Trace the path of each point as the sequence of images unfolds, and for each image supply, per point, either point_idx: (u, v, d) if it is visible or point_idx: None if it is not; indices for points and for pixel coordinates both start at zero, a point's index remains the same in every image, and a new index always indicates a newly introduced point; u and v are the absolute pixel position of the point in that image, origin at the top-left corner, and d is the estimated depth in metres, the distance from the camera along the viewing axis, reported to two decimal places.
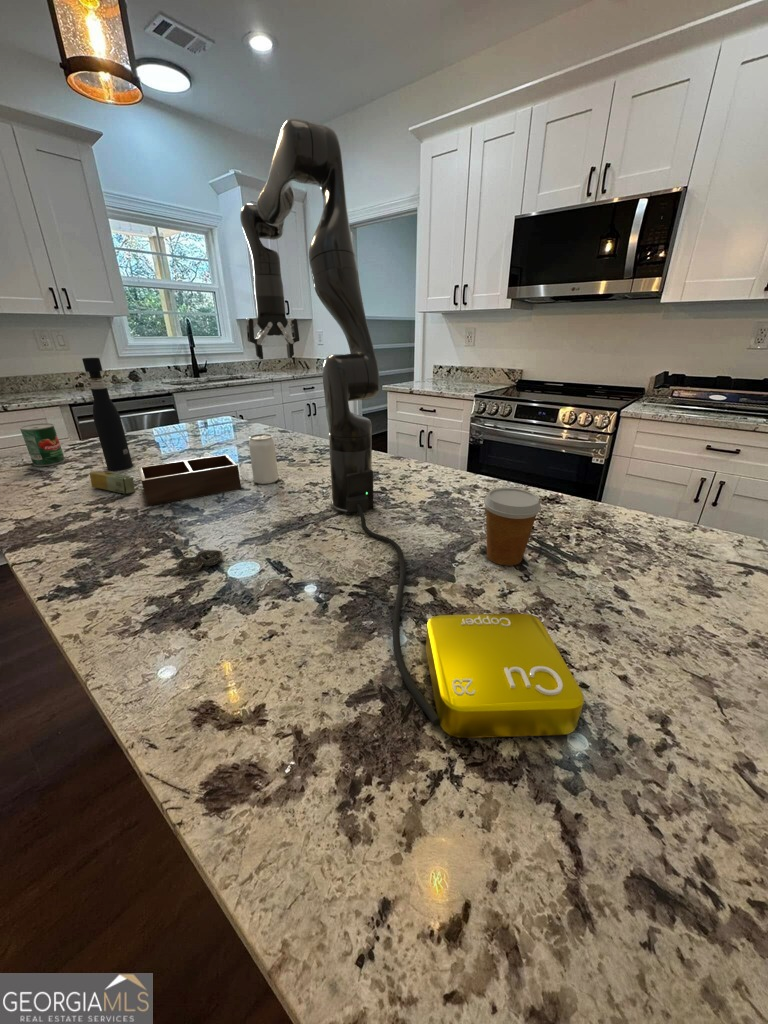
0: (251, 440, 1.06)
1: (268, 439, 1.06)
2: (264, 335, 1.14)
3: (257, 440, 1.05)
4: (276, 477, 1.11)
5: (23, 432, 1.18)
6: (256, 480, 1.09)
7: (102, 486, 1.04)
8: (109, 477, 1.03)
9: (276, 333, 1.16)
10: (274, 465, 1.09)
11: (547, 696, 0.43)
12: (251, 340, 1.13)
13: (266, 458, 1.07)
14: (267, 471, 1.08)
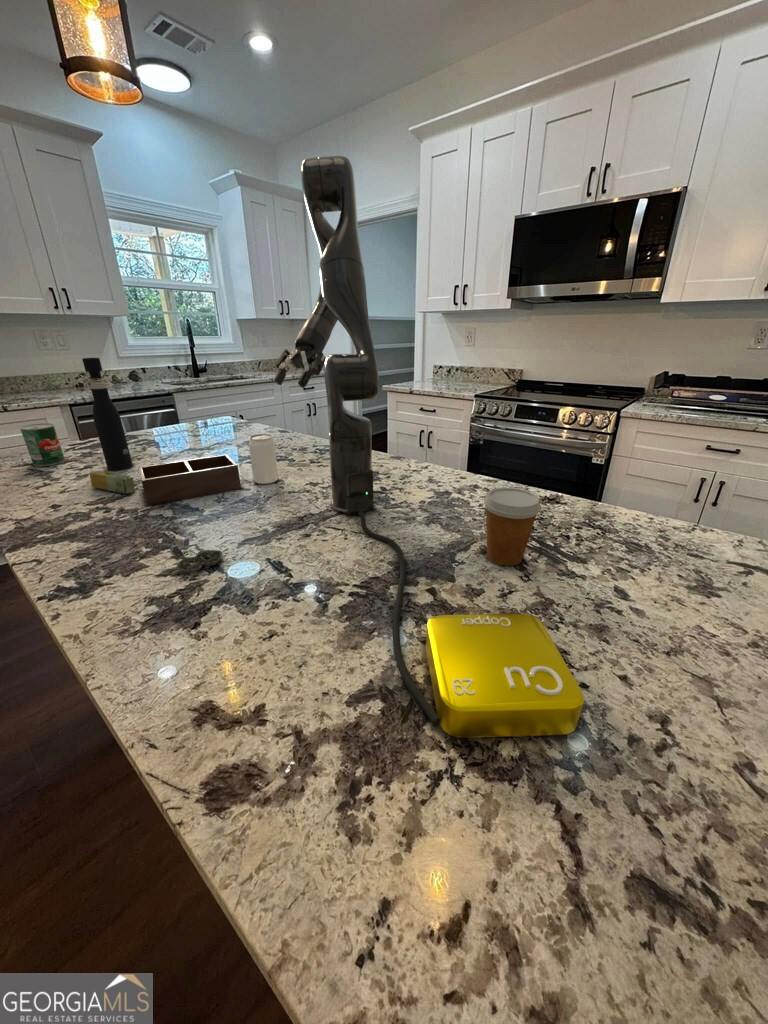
0: (251, 440, 1.06)
1: (268, 439, 1.06)
2: (286, 360, 1.13)
3: (257, 440, 1.05)
4: (276, 477, 1.11)
5: (23, 432, 1.18)
6: (256, 480, 1.09)
7: (102, 486, 1.04)
8: (109, 477, 1.03)
9: (298, 361, 1.12)
10: (274, 465, 1.09)
11: (547, 696, 0.43)
12: (276, 364, 1.15)
13: (266, 458, 1.07)
14: (267, 471, 1.08)
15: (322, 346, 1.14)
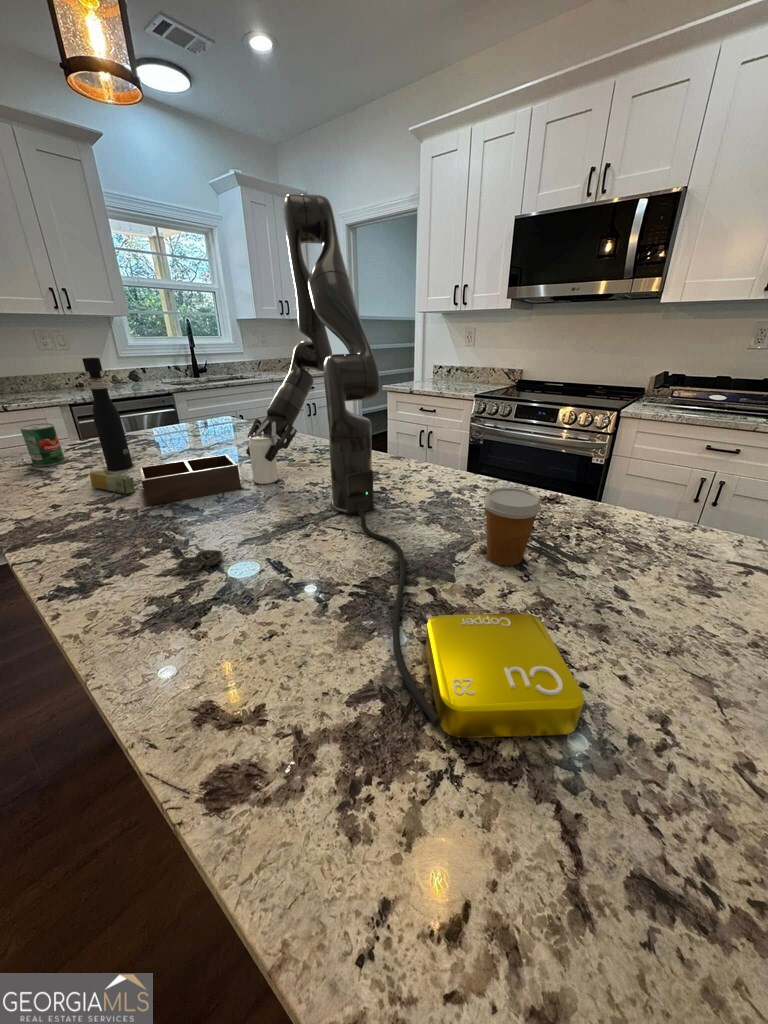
0: (251, 440, 1.06)
1: (268, 439, 1.06)
2: (258, 431, 1.10)
3: (257, 440, 1.05)
4: (276, 477, 1.11)
5: (23, 432, 1.18)
6: (256, 480, 1.09)
7: (102, 486, 1.04)
8: (109, 477, 1.03)
9: (269, 432, 1.09)
10: (274, 465, 1.09)
11: (547, 696, 0.43)
12: (248, 435, 1.11)
13: None
14: (267, 471, 1.08)
15: (294, 415, 1.11)
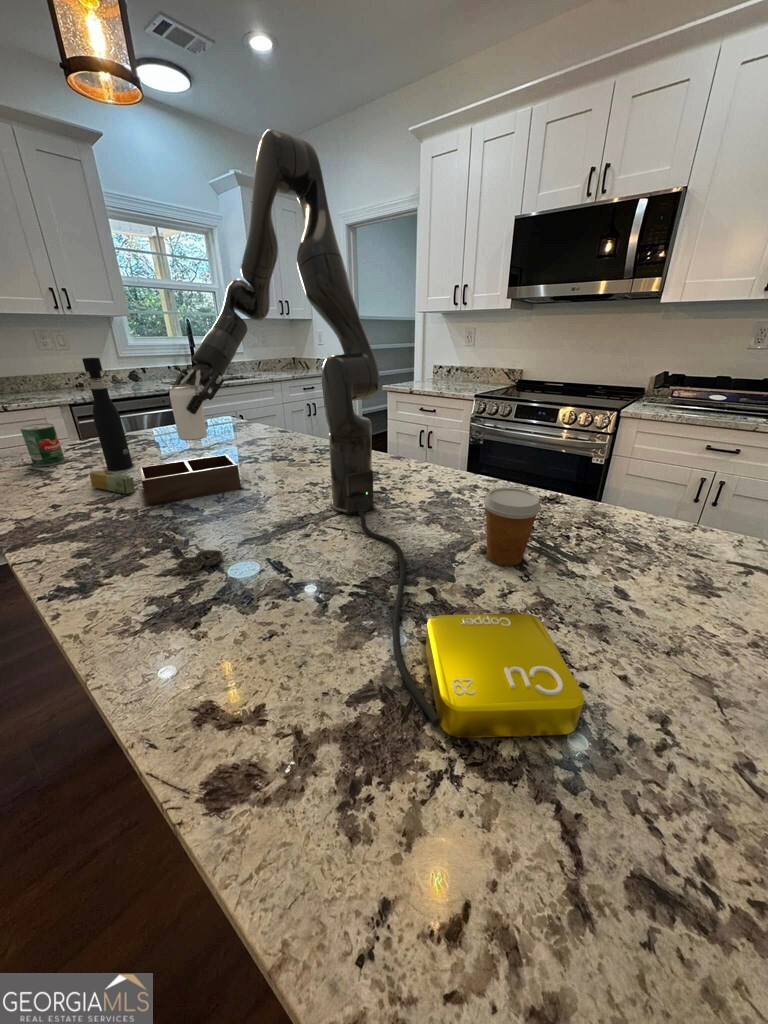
0: (171, 389, 0.94)
1: (190, 388, 0.95)
2: (182, 382, 0.98)
3: (177, 389, 0.94)
4: (203, 433, 1.00)
5: (23, 432, 1.18)
6: (180, 436, 0.98)
7: (102, 486, 1.04)
8: (109, 477, 1.03)
9: (194, 382, 0.97)
10: (200, 419, 0.98)
11: (547, 696, 0.43)
12: None
13: None
14: (191, 425, 0.97)
15: (223, 364, 0.99)
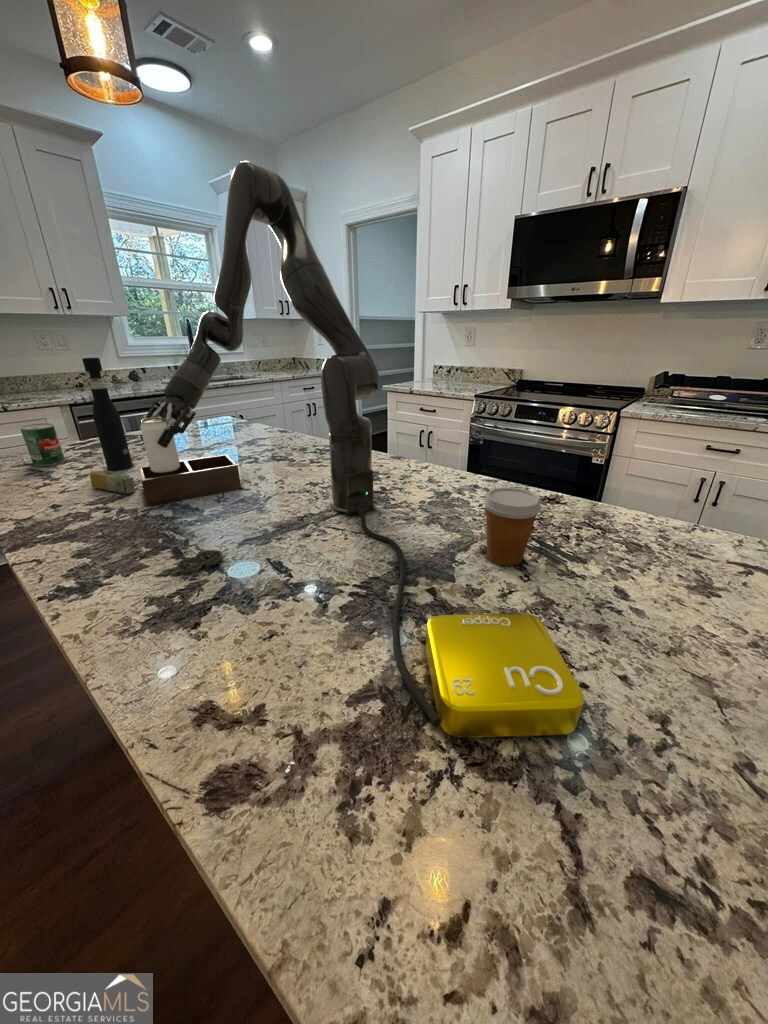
0: (142, 423, 0.94)
1: (161, 422, 0.95)
2: (154, 414, 0.98)
3: (147, 423, 0.94)
4: (176, 465, 1.00)
5: (23, 432, 1.18)
6: (152, 469, 0.98)
7: (102, 486, 1.04)
8: (109, 477, 1.03)
9: (165, 415, 0.97)
10: (172, 451, 0.98)
11: (547, 696, 0.43)
12: None
13: None
14: (162, 458, 0.97)
15: (195, 397, 0.99)
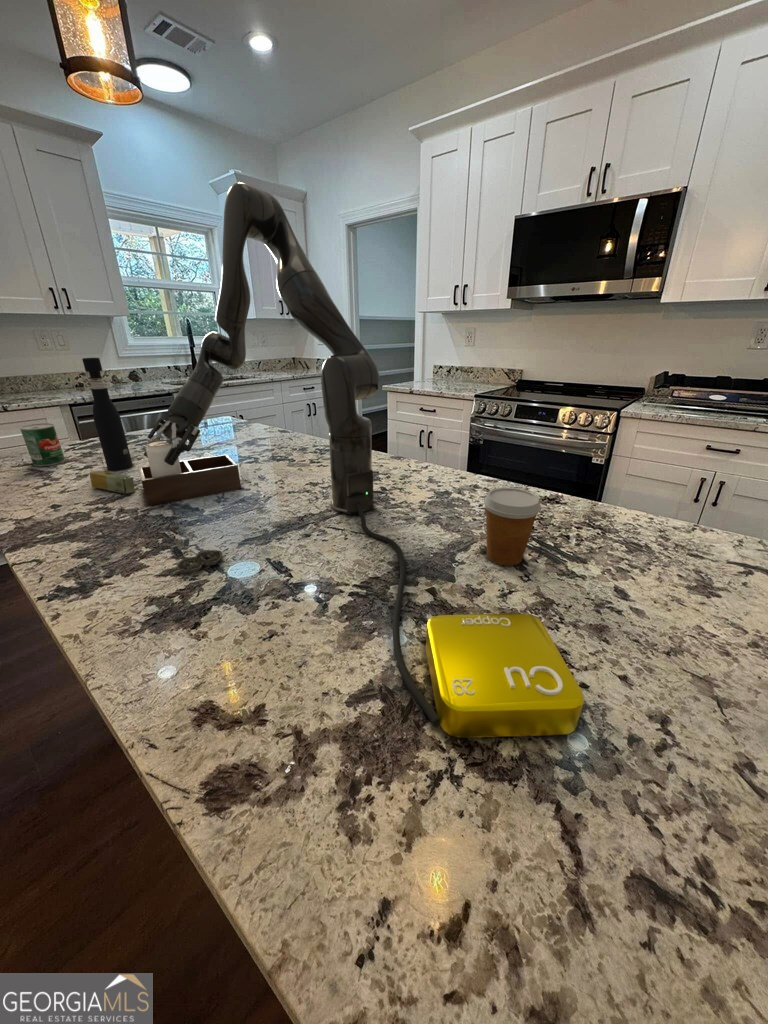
0: (147, 446, 0.97)
1: (166, 445, 0.97)
2: (157, 432, 1.00)
3: (153, 446, 0.96)
4: None
5: (23, 432, 1.18)
6: None
7: (102, 486, 1.04)
8: (109, 477, 1.03)
9: (169, 434, 0.99)
10: (176, 473, 1.00)
11: (547, 696, 0.43)
12: (148, 435, 1.02)
13: (165, 466, 0.98)
14: None
15: (198, 416, 1.01)
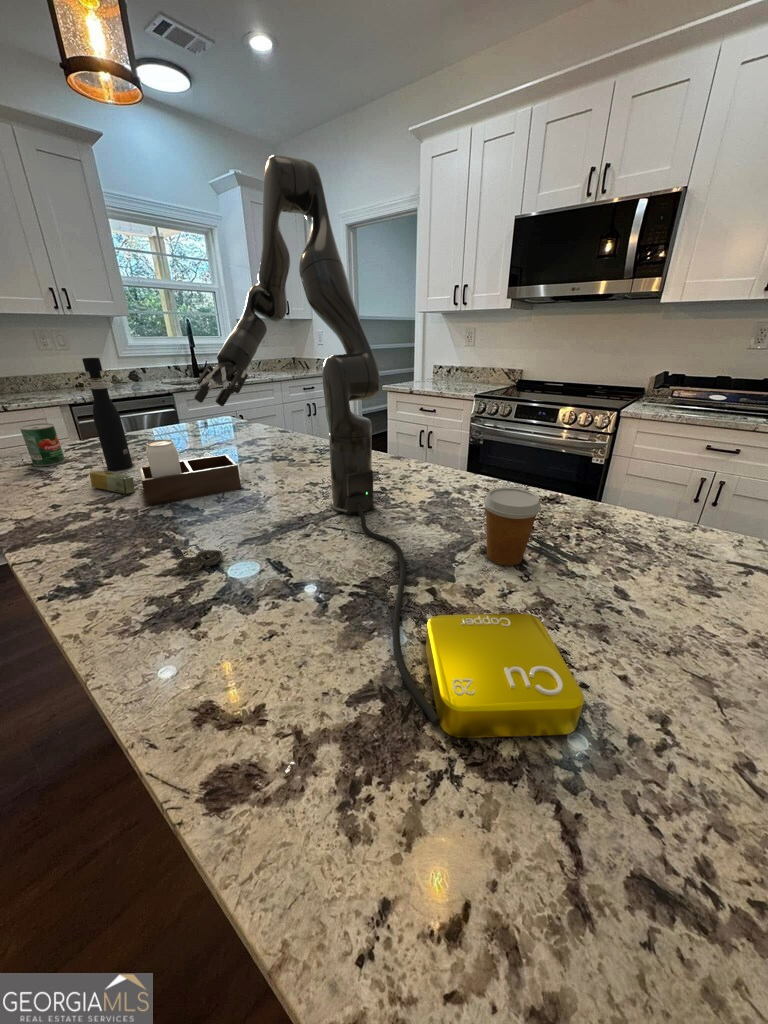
0: (147, 446, 0.97)
1: (166, 445, 0.97)
2: (207, 377, 1.07)
3: (153, 446, 0.96)
4: None
5: (23, 432, 1.18)
6: None
7: (102, 486, 1.04)
8: (109, 477, 1.03)
9: (219, 378, 1.06)
10: (176, 473, 1.00)
11: (547, 696, 0.43)
12: (197, 381, 1.09)
13: (165, 466, 0.98)
14: None
15: (245, 362, 1.07)
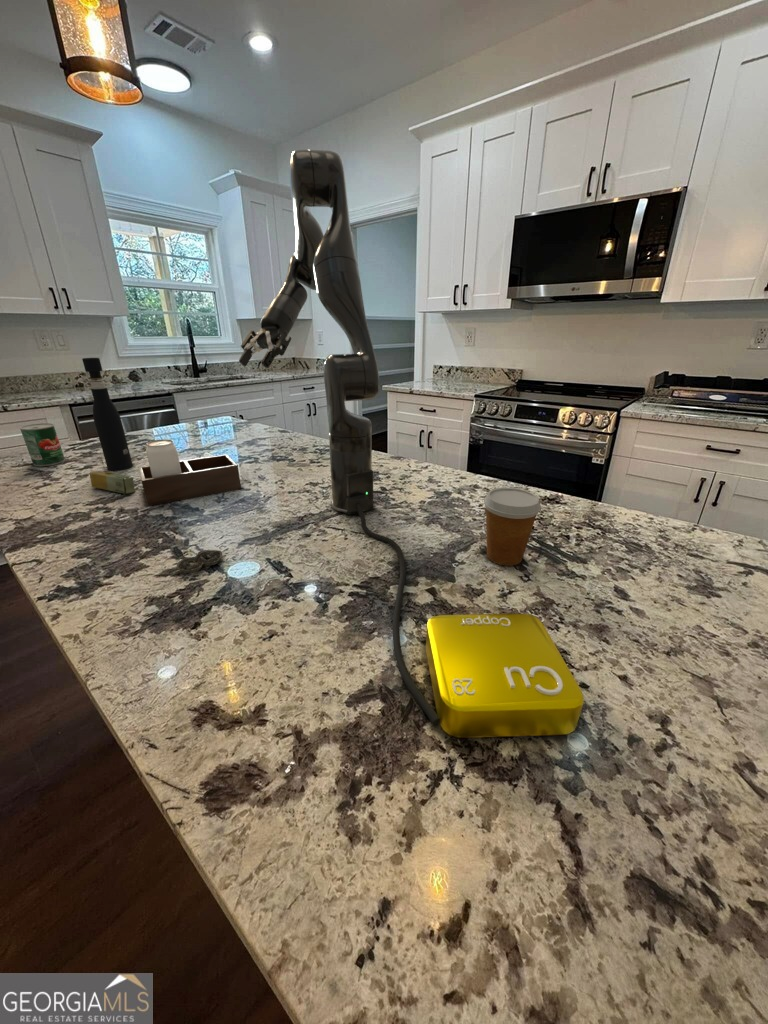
0: (147, 446, 0.97)
1: (166, 445, 0.97)
2: (251, 341, 1.10)
3: (153, 446, 0.96)
4: None
5: (23, 432, 1.18)
6: None
7: (102, 486, 1.04)
8: (109, 477, 1.03)
9: (263, 341, 1.09)
10: (176, 473, 1.00)
11: (547, 696, 0.43)
12: (241, 345, 1.12)
13: (165, 466, 0.98)
14: None
15: (288, 326, 1.11)
